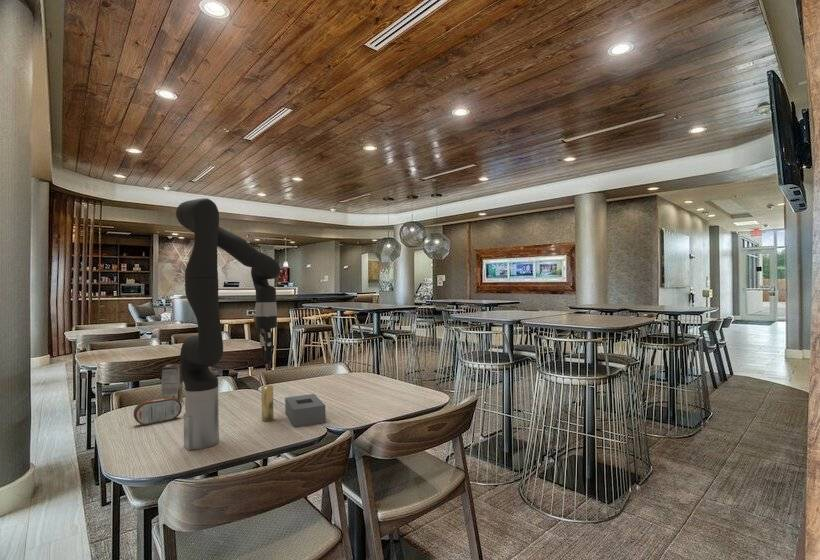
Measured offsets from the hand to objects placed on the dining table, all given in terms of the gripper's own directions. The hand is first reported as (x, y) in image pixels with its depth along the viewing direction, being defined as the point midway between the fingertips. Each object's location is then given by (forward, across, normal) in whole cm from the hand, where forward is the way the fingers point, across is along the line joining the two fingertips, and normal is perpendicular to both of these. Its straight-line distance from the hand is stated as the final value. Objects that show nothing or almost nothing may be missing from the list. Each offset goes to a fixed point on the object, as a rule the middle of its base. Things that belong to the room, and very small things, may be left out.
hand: (266, 359), depth 152 cm
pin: (+22, 0, 0) cm, 22 cm away
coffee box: (+22, -44, -32) cm, 58 cm away
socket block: (+22, +5, +12) cm, 25 cm away
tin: (+22, -18, -35) cm, 45 cm away
